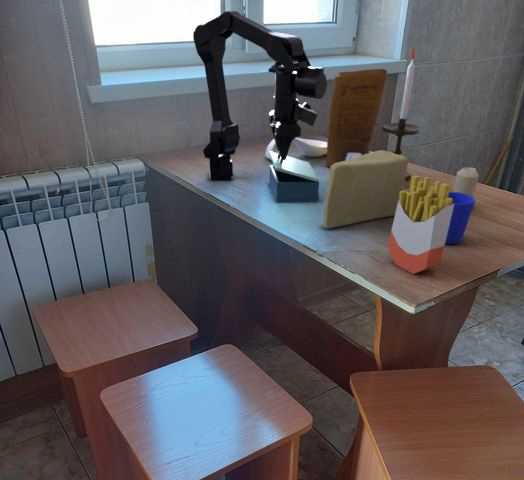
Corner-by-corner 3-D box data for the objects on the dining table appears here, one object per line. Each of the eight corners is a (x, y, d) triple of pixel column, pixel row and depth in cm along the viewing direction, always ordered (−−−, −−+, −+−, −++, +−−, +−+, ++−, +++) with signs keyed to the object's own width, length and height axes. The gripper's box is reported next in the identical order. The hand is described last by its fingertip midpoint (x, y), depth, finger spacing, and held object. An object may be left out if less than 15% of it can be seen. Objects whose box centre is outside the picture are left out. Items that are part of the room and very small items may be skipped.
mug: (407, 233, 123) (415, 192, 117) (456, 232, 124) (466, 191, 118) (418, 247, 116) (427, 204, 110) (470, 246, 117) (481, 203, 111)
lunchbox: (276, 202, 139) (276, 183, 136) (269, 183, 152) (269, 165, 149) (317, 201, 140) (319, 182, 137) (307, 182, 153) (308, 164, 150)
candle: (460, 210, 136) (469, 172, 130) (445, 204, 140) (453, 166, 134) (475, 207, 138) (485, 169, 132) (460, 201, 142) (469, 164, 136)
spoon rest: (320, 149, 185) (322, 128, 181) (337, 157, 177) (339, 135, 172) (261, 155, 177) (261, 133, 173) (275, 164, 168) (276, 141, 164)
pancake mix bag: (379, 165, 169) (393, 69, 153) (327, 170, 164) (335, 71, 148) (369, 160, 175) (382, 66, 158) (318, 164, 169) (326, 68, 153)
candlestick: (389, 183, 154) (411, 49, 134) (369, 173, 162) (386, 45, 142) (418, 179, 158) (443, 48, 137) (397, 169, 166) (418, 44, 145)
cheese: (337, 235, 121) (344, 171, 112) (310, 222, 127) (315, 160, 119) (400, 216, 132) (410, 156, 123) (372, 205, 138) (380, 147, 130)
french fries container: (421, 279, 103) (441, 191, 93) (385, 259, 111) (399, 175, 100) (437, 274, 105) (458, 187, 95) (400, 254, 113) (416, 172, 102)
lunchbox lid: (275, 170, 134) (281, 152, 131) (268, 153, 147) (273, 136, 145) (318, 182, 137) (324, 164, 135) (307, 164, 150) (313, 148, 148)
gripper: (323, 101, 124) (317, 166, 133) (310, 88, 140) (305, 148, 149) (278, 100, 123) (275, 166, 132) (269, 87, 138) (267, 147, 147)
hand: (282, 156), depth 140 cm, fingers closed on lunchbox lid, 6 cm apart
